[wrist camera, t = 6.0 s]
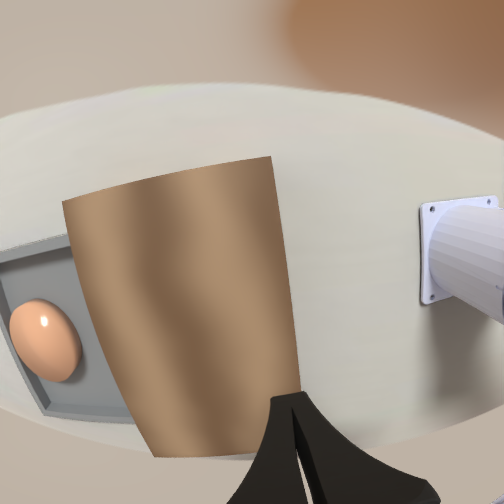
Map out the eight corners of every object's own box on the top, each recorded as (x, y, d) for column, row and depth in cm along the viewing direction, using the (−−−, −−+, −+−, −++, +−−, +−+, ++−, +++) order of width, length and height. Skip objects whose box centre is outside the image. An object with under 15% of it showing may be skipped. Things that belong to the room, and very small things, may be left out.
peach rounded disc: (0, 304, 18) (11, 298, 19) (26, 377, 19) (34, 368, 21) (58, 304, 18) (68, 297, 19) (85, 385, 19) (92, 375, 21)
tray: (93, 226, 19) (81, 230, 17) (152, 410, 22) (148, 423, 20) (-8, 254, 19) (-21, 258, 17) (51, 405, 22) (43, 415, 20)
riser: (263, 162, 19) (270, 156, 15) (297, 411, 23) (305, 443, 19) (91, 198, 18) (61, 201, 14) (162, 425, 23) (154, 457, 19)
